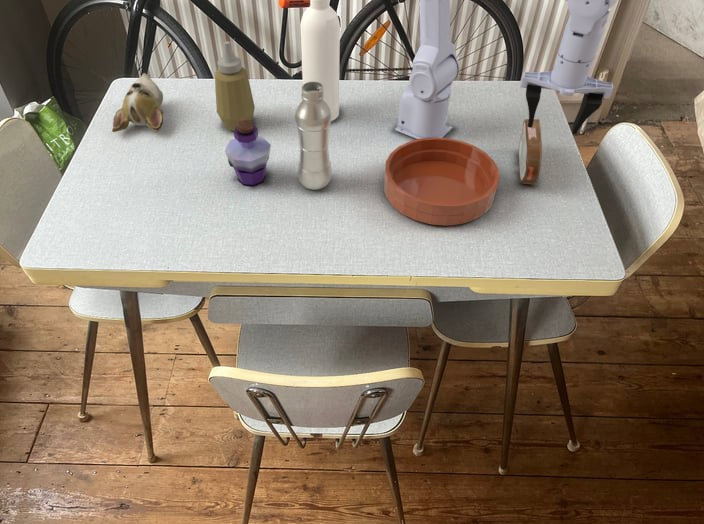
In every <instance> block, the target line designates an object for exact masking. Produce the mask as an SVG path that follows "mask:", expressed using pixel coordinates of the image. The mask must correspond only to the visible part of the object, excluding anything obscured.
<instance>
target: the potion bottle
mask: <svg viewBox="0 0 704 524" xmlns="http://www.w3.org/2000/svg"><path fill="white" fill-rule="evenodd" d="M258 129H259V128H258V127H257V126H256V125H254V122H253V120H252V121H250V120H246V119H245V120H241V121H239V122H238V123H237V126H236V128H235V130H234V131H233V139H230V140H229V141H228V144H227V145H226V147H225V149H224V153H225V155H226V158H227V162H228V165H229V167H231V168H232V169H233V170H234V172H235V175H236V177H237V181H238V182H239V183H240V184H241V185H242V186H244V187H256V186H259V185H261V184H263V183H264V182H265V179H266V177H267V175H266V171H267V167H268V166H267V165H268V162H269V159H270V153H271V147H272V144H271V143H270V142H269V141H267V139H265V137H263V136H262V135H259V130H258Z"/></svg>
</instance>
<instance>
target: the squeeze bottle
mask: <svg viewBox="0 0 704 524" xmlns="http://www.w3.org/2000/svg"><path fill="white" fill-rule="evenodd" d="M222 47H223V48H222V56H221V57H219V58H218V59H217V70H216V71H215V73H214V85H215V86H214V87H215V105H216V107H215V108H216V114H217V115H218V117H219V119H220V121H221V123H222V124H223V126H224V128H225V129H226V130H228V131H232V132H234V130H235V128H236V126H237V123H238V122H239V121H241V120H245V119H246V120H250V121H252V122H253V118H254V114H255V101H254V97H253V93H252V88H251V82H250V80H249V79H250V78H249V76H248V75H249V74H248V71H247V69H246V68H245V67H243V66H242V59H241V58H240V57H239V56H237V55H235V54H234V53H235V52H234V51H233V50H234V49H233V48H232V45H231V42H230V41H229V40H226V41H223V46H222Z"/></svg>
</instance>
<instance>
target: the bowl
mask: <svg viewBox="0 0 704 524" xmlns="http://www.w3.org/2000/svg"><path fill="white" fill-rule="evenodd" d="M499 170H500V169H499V167H498V165H497V163H496V162H495V160H494V159H493V158H492V157H491V156H490V155H489V154H488V153H487V152H486V151H484V150H482V149H480V148H479V147H478V146H476V145H474V144H471V143H470V142H469V143H468V142H466V141H463V140H459V139H454V138H450V137H442V138H438V137H432V138H421V139H413V140H410V141H406V142H405V143H403V144H401V145H399V146H397V147H396V148H395V149H394V150H393V151H391V153H389V156H388V157H387V158H386V160H385V168H384V178H383V179H384V180H383V191H384V192H383V193H384V195H385V198H386V199H387V201H388V202H389V203H390V205H391V206H392V207H393V208H394V209H395V210H396V211H398V212H399V213H400V214H402V215H403V216H406V217H408V218H410V219H412V220H414V221H416V222H419V223H425V224H429V225H436V226H455V225H456V226H457V225H462V224H465V223H470V222H473V221H475V220H476V219H478V218H480V217H481V216H483V215H485V214H486V213H487V212H488V211H489V210H490V208H491V207H493V202H494V200H495V198H496V197H495V196H496V193H497V190H498V186H499V182H500V171H499Z"/></svg>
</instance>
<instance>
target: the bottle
mask: <svg viewBox="0 0 704 524" xmlns="http://www.w3.org/2000/svg"><path fill="white" fill-rule="evenodd" d="M309 2H310V5H309V6H308V7H307V8H306V9H305V10H304V11H303V13H302V15H301V19H300V24H299V25H300V49H301V50H300V51H301V52H300V54H301V76H302V79H301V80H302V86H303V85H304V84H305V83H307V82H312V81H314V82H319V83H321V84H322V85H323V93H324V98H323V100H324V101H325V102H326V104H327V105H328V107H329V108H330V111H331V114H332V115H331V122H334V121H335V120H337V118H338V117H339V115H340V51H341V50H340V49H341V46H340V45H341V24H340V20H339V16H338V13H337V11H335V9H333V7H332V6H330V0H309Z"/></svg>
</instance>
